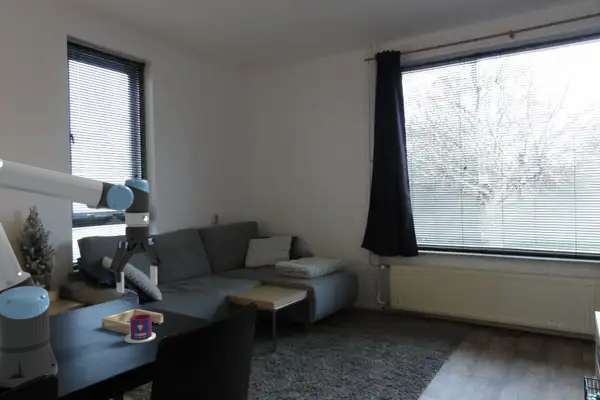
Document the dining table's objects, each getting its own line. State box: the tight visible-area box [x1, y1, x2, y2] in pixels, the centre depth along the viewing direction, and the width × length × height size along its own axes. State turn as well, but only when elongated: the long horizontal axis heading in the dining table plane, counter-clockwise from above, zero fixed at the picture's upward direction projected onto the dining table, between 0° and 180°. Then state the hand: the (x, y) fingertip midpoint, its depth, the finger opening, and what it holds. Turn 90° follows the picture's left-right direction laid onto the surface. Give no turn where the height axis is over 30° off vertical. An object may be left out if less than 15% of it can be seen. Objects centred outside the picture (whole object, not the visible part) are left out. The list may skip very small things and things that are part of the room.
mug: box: [129, 314, 153, 340], centre depth 153 cm, size 7×10×7 cm
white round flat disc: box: [123, 331, 157, 344], centre depth 152 cm, size 10×10×1 cm
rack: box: [101, 308, 164, 335], centre depth 166 cm, size 15×15×4 cm
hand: (137, 288), depth 151 cm, fingers open, 13 cm apart
